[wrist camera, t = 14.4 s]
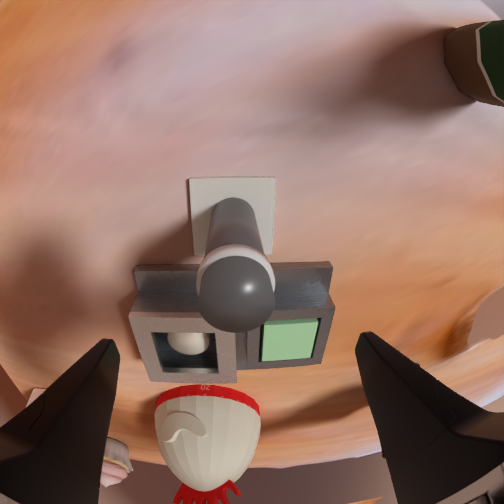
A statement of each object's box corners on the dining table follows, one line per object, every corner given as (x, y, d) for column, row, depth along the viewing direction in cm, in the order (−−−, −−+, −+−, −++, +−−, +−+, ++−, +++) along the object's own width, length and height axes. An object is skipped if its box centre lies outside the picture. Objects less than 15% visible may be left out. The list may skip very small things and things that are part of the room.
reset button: (211, 343, 25) (210, 354, 24) (173, 343, 25) (171, 354, 24) (208, 314, 23) (207, 325, 22) (166, 314, 23) (164, 324, 22)
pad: (271, 252, 22) (271, 254, 22) (194, 253, 22) (194, 255, 22) (274, 176, 20) (275, 177, 19) (189, 177, 19) (189, 178, 19)
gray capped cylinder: (258, 194, 20) (283, 266, 11) (257, 240, 21) (276, 334, 13) (207, 195, 20) (189, 268, 11) (209, 241, 21) (197, 336, 12)
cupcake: (106, 450, 41) (99, 489, 32) (81, 429, 37) (69, 472, 28) (144, 454, 41) (139, 497, 32) (120, 434, 37) (112, 483, 28)
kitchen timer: (136, 393, 31) (116, 497, 17) (235, 373, 29) (242, 502, 16) (188, 437, 37) (185, 520, 24) (272, 423, 36) (284, 514, 22)
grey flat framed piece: (310, 358, 29) (318, 388, 25) (161, 362, 28) (155, 392, 24) (329, 261, 23) (346, 289, 20) (136, 265, 22) (121, 294, 18)
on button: (305, 342, 26) (310, 357, 24) (259, 345, 26) (261, 361, 24) (312, 307, 24) (318, 322, 22) (261, 309, 24) (264, 325, 22)
